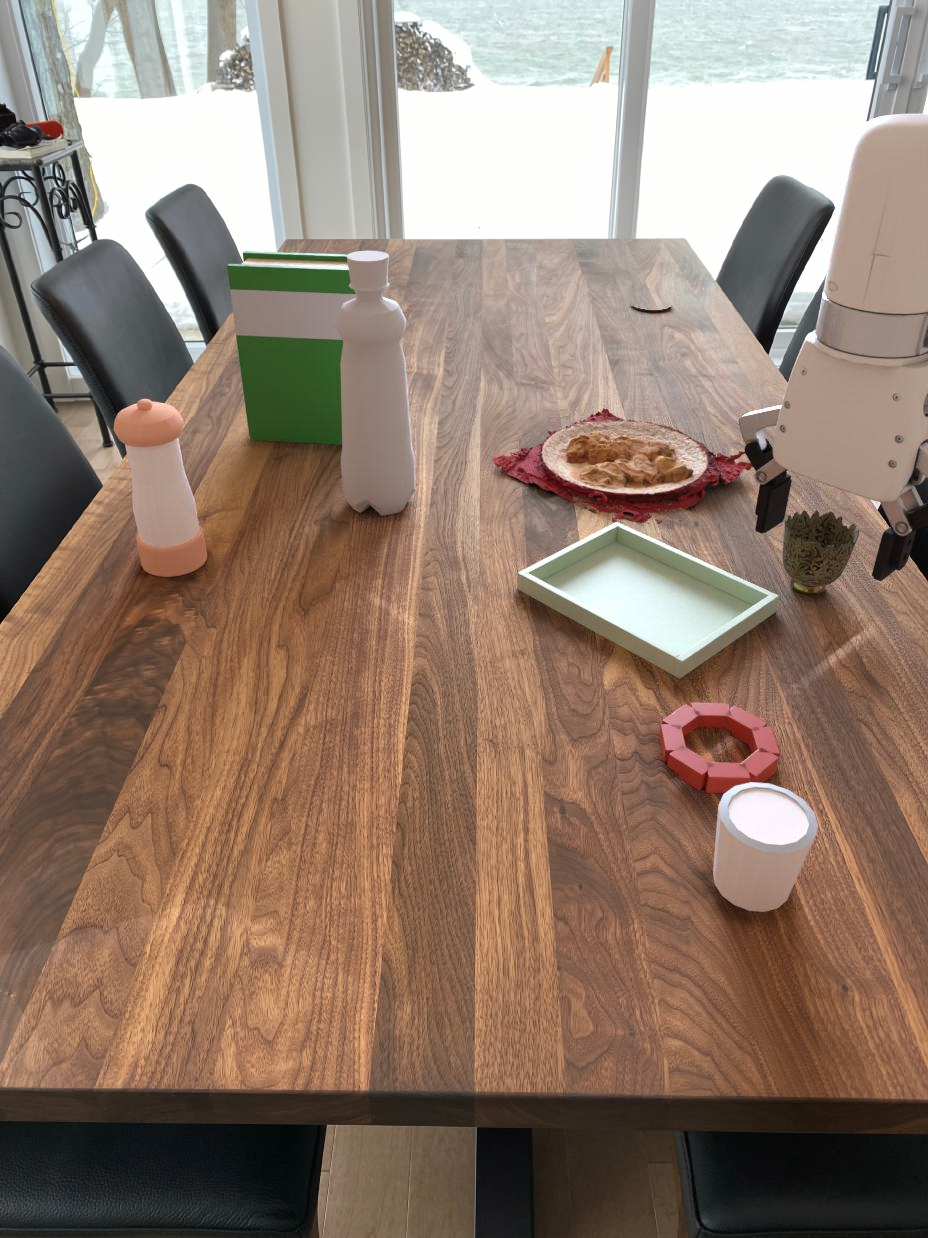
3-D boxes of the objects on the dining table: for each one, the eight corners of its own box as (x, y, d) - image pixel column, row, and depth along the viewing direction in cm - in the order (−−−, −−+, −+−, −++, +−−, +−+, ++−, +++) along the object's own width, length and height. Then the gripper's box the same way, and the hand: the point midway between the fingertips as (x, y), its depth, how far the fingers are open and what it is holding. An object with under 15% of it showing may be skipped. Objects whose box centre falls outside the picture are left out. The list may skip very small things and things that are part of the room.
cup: (857, 601, 104) (875, 535, 100) (800, 615, 102) (816, 549, 98) (812, 567, 110) (827, 504, 106) (757, 580, 108) (770, 516, 103)
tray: (775, 615, 102) (779, 595, 101) (679, 682, 93) (682, 661, 91) (614, 540, 115) (616, 521, 114) (516, 592, 106) (517, 572, 104)
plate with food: (604, 420, 145) (605, 398, 143) (753, 473, 129) (757, 449, 127) (488, 470, 132) (488, 446, 130) (638, 535, 116) (640, 510, 114)
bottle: (425, 491, 125) (420, 248, 108) (402, 524, 118) (393, 269, 101) (358, 482, 127) (343, 242, 110) (332, 514, 120) (312, 263, 103)
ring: (795, 756, 84) (799, 740, 83) (730, 811, 79) (734, 795, 78) (703, 704, 90) (706, 688, 89) (637, 751, 85) (639, 736, 84)
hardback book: (249, 439, 138) (227, 265, 125) (264, 419, 144) (244, 250, 131) (371, 446, 137) (362, 270, 123) (382, 425, 143) (373, 255, 129)
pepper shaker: (138, 550, 113) (104, 392, 102) (202, 539, 115) (175, 383, 104) (144, 582, 107) (109, 418, 96) (211, 570, 109) (184, 408, 98)
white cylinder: (730, 833, 77) (745, 767, 73) (813, 876, 73) (834, 810, 69) (687, 886, 72) (701, 819, 69) (774, 935, 69) (793, 868, 65)
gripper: (1035, 342, 61) (959, 573, 71) (790, 287, 72) (753, 495, 81) (985, 373, 57) (912, 614, 67) (732, 310, 67) (701, 526, 77)
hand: (825, 549), depth 74 cm, fingers open, 9 cm apart
